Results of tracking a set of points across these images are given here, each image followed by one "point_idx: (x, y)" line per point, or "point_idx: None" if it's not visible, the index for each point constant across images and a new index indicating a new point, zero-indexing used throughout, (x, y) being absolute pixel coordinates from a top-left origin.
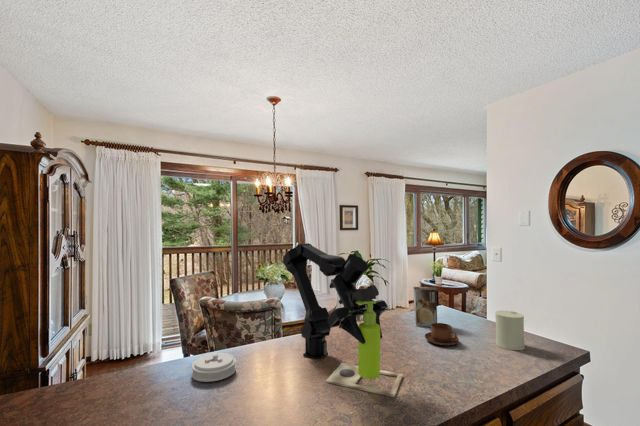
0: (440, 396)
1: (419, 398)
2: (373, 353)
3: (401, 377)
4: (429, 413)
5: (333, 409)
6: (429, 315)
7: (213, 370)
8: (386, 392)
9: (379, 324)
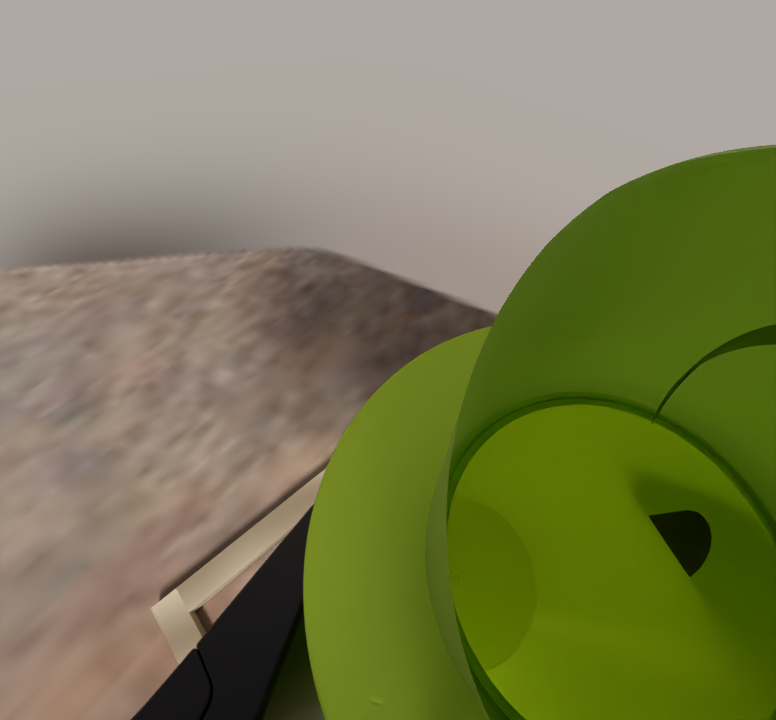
0: (186, 351)
1: (279, 377)
2: (500, 452)
3: (196, 573)
4: (330, 289)
5: None
6: None
7: None
8: None
9: (209, 651)
